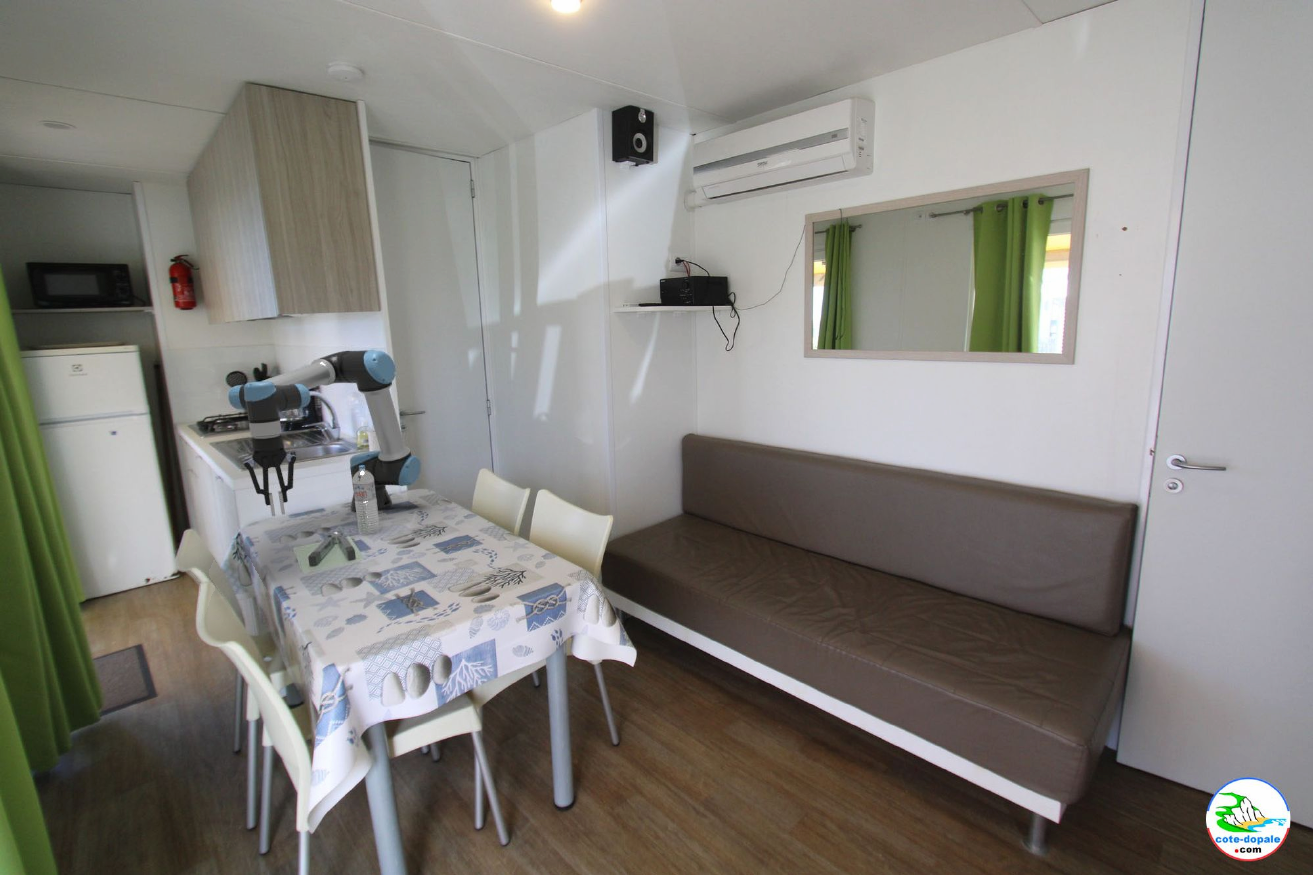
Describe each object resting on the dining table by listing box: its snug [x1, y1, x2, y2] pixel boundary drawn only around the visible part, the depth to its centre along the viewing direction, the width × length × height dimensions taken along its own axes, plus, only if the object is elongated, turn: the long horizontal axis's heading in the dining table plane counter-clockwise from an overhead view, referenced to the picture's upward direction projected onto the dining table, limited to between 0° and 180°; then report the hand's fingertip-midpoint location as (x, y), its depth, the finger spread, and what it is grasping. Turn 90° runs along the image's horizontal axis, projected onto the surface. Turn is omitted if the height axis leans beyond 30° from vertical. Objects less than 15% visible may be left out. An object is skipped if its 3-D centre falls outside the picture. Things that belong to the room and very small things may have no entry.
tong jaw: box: [308, 536, 335, 566], centre depth 193 cm, size 2×17×3 cm, turn 11°
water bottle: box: [351, 465, 381, 536], centre depth 212 cm, size 7×7×25 cm
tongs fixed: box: [326, 529, 356, 560], centre depth 197 cm, size 5×24×4 cm, turn 36°
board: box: [292, 535, 366, 574], centre depth 195 cm, size 17×26×1 cm, turn 36°
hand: (278, 514), depth 180 cm, fingers open, 2 cm apart
